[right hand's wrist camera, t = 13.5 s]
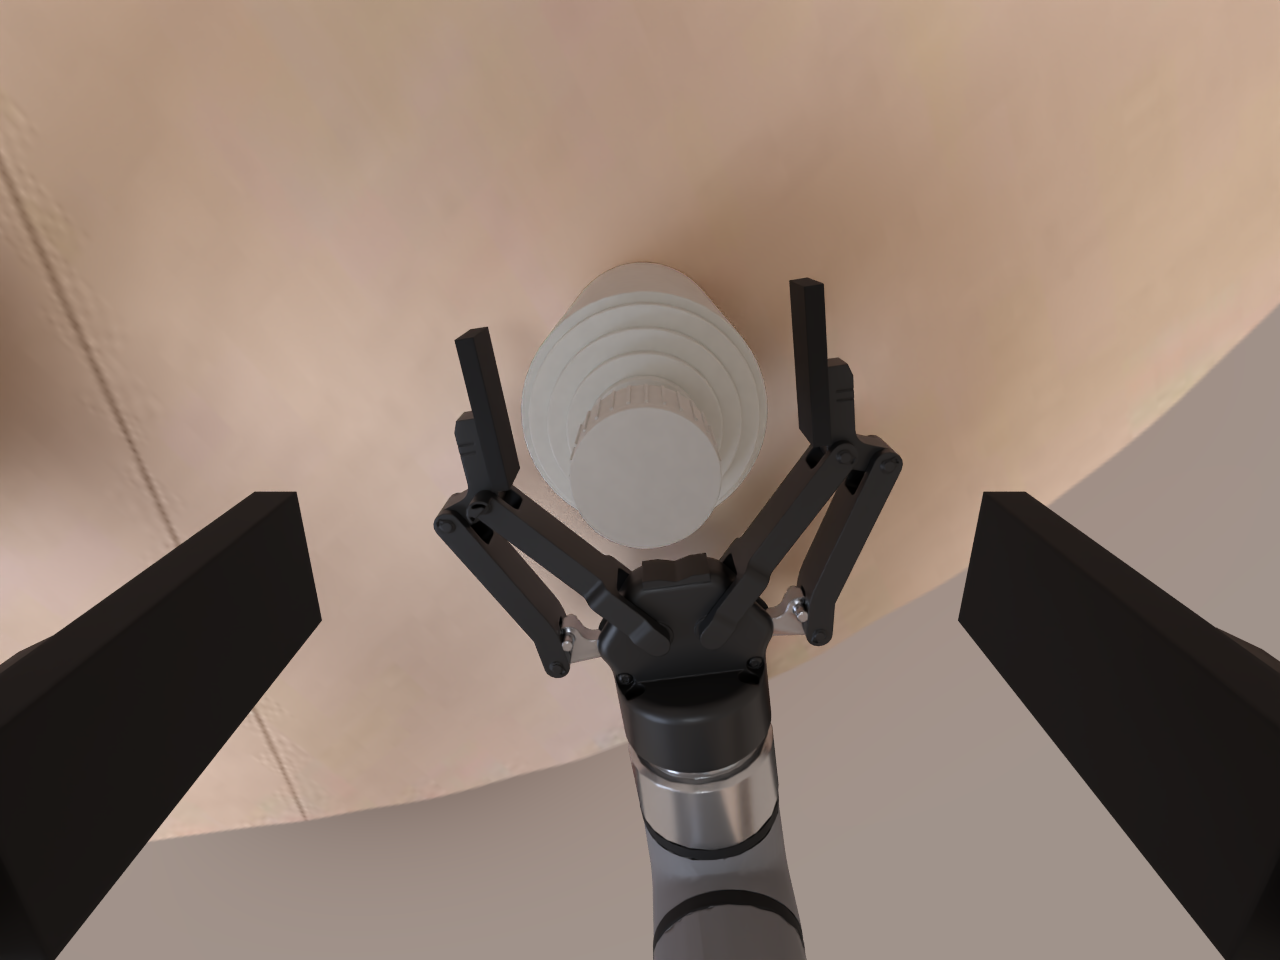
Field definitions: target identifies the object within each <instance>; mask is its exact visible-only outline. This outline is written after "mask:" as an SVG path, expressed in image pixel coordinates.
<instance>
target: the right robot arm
mask: <svg viewBox="0 0 1280 960" xmlns="http://www.w3.org/2000/svg"><path fill="white" fill-rule="evenodd" d="M321 621H322V618H321V613H320V608H319V603H318V598H317V593H316V588H315V583H314V578H313V573H312V568H311V563H310V558H309V553H308V548H307V542H306V537H305V532H304V527H303V522H302V517H301V512H300V507H299V502H298V497H297V492H254V493H252V494H251V495H249V496H248V497H247V498H245V499H244V500H242V501H241V502H240V503H238V504H237V505H235V506H234V507H233V508H231V509H230V510H228V511H227V512H226V513H224V514H223V515H221V516H220V517H219V518H217V519H216V520H214V521H213V522H212V523H210V524H209V525H207V526H206V527H205V528H203V529H202V530H200V531H199V532H198V533H196V534H195V535H193V536H192V537H191V538H189V539H188V540H186V541H185V542H184V543H182V544H181V545H179V546H178V547H177V548H175V549H174V550H172V551H171V552H170V553H168V554H167V555H165V556H164V557H163V558H161V559H160V560H158V561H157V562H156V563H154V564H153V565H151V566H150V567H149V568H147V569H146V570H144V571H143V572H142V573H140V574H139V575H137V576H136V577H135V578H133V579H132V580H130V581H129V582H128V583H126V584H125V585H123V586H122V587H121V588H119V589H118V590H116V591H115V592H114V593H112V594H111V595H109V596H108V597H107V598H105V599H104V600H102V601H101V602H100V603H98V604H97V605H95V606H94V607H93V608H91V609H90V610H88V611H87V612H86V613H84V614H83V615H81V616H80V617H79V618H77V619H76V620H74V621H73V622H72V623H70V624H69V625H67V626H66V627H65V628H63V629H62V630H60V631H59V632H58V633H56V634H55V635H53V636H51V637H49V638H47V639H45V640H43V641H41V642H39V643H36V644H34V645H32V646H30V647H28V648H26V649H24V650H22V651H20V652H18V653H17V654H15V655H14V656H12V657H11V658H9V659H8V660H7V661H5V662H4V663H2V664H1V665H0V960H55V959H56V957H57V956H58V955H59V954H60V952H61V951H62V950H63V949H64V947H65V946H66V945H67V944H68V942H69V941H70V940H71V938H72V937H73V936H74V935H75V933H76V932H77V931H78V930H79V928H80V927H81V926H82V924H83V923H84V922H85V921H86V919H87V918H88V917H89V916H90V914H91V913H92V912H93V910H94V909H95V908H96V907H97V905H98V904H99V903H100V902H101V900H102V899H103V898H104V897H105V895H106V894H107V893H108V891H109V890H110V889H111V888H112V886H113V885H114V884H115V882H116V881H117V880H118V879H119V878H120V876H121V875H122V874H123V872H124V871H125V870H126V869H127V867H128V866H129V865H130V863H131V862H132V861H133V860H134V858H135V857H136V856H137V855H138V853H139V852H140V851H141V850H142V848H143V847H144V846H145V844H146V843H147V842H148V841H149V839H150V838H151V837H152V836H153V834H154V833H155V832H156V831H157V829H158V828H159V827H160V825H161V824H162V823H163V822H164V820H165V819H166V818H167V817H168V815H169V814H170V813H171V811H172V810H173V809H174V808H175V806H176V805H177V804H178V803H179V801H180V800H181V799H182V798H183V796H184V795H185V794H186V792H187V791H188V790H189V789H190V787H191V786H192V785H193V784H194V782H195V781H196V780H197V778H198V777H199V776H200V775H201V773H202V772H203V771H204V770H205V768H206V767H207V766H208V765H209V763H210V762H211V761H212V759H213V758H214V757H215V756H216V754H217V753H218V752H219V751H220V749H221V748H222V747H223V745H224V744H225V743H226V742H227V740H228V739H229V738H230V737H231V735H232V734H233V733H234V731H235V730H236V729H237V728H238V726H239V725H240V724H241V723H242V721H243V720H244V719H245V718H246V716H247V715H248V714H249V712H250V711H251V710H252V709H253V707H254V706H255V705H256V704H257V702H258V701H259V700H260V698H261V697H262V696H263V695H264V693H265V692H266V691H267V690H268V688H269V687H270V686H271V685H272V683H273V682H274V681H275V679H276V678H277V677H278V676H279V674H280V673H281V672H282V671H283V669H284V668H285V667H286V665H287V664H288V663H289V662H290V660H291V659H292V658H293V657H294V655H295V654H296V653H297V651H298V650H299V649H300V648H301V646H302V645H303V644H304V643H305V641H306V640H307V639H308V638H309V636H310V635H311V634H312V632H313V631H314V630H315V629H316V627H317V626H318V625H319V624H320V622H321ZM958 621H959V622H960V624H961V625H962V626H963V627H964V629H965V630H966V631H967V632H968V634H969V635H970V636H971V637H972V639H973V640H974V641H975V643H976V644H977V645H978V646H979V648H980V649H981V650H982V651H983V653H984V654H985V655H986V657H987V658H988V659H989V660H990V662H991V663H992V664H993V665H994V667H995V668H996V669H997V671H998V672H999V673H1000V674H1001V676H1002V677H1003V678H1004V679H1005V681H1006V682H1007V683H1008V685H1009V686H1010V687H1011V688H1012V689H1013V691H1014V692H1015V693H1016V695H1017V696H1018V697H1019V698H1020V700H1021V701H1022V702H1023V704H1024V705H1025V706H1026V707H1027V709H1028V710H1029V711H1030V712H1031V714H1032V715H1033V716H1034V718H1035V719H1036V720H1037V721H1038V723H1039V724H1040V725H1041V726H1042V728H1043V729H1044V730H1045V731H1046V733H1047V734H1048V735H1049V737H1050V738H1051V739H1052V740H1053V742H1054V743H1055V744H1056V745H1057V747H1058V748H1059V749H1060V751H1061V752H1062V753H1063V754H1064V756H1065V757H1066V758H1067V759H1068V761H1069V762H1070V763H1071V765H1072V766H1073V767H1074V768H1075V770H1076V771H1077V772H1078V773H1079V775H1080V776H1081V777H1082V778H1083V780H1084V781H1085V782H1086V783H1087V785H1088V786H1089V787H1090V789H1091V790H1092V791H1093V792H1094V794H1095V795H1096V796H1097V798H1098V799H1099V800H1100V801H1101V803H1102V804H1103V805H1104V806H1105V808H1106V809H1107V810H1108V811H1109V813H1110V814H1111V815H1112V817H1113V818H1114V819H1115V820H1116V822H1117V823H1118V824H1119V825H1120V827H1121V828H1122V829H1123V831H1124V832H1125V833H1126V834H1127V836H1128V837H1129V838H1130V839H1131V841H1132V842H1133V843H1134V844H1135V846H1136V847H1137V848H1138V850H1139V851H1140V852H1141V853H1142V855H1143V856H1144V857H1145V858H1146V860H1147V861H1148V862H1149V863H1150V865H1151V866H1152V867H1153V869H1154V870H1155V871H1156V872H1157V874H1158V875H1159V876H1160V878H1161V879H1162V880H1163V881H1164V883H1165V884H1166V885H1167V886H1168V888H1169V889H1170V890H1171V891H1172V893H1173V894H1174V895H1175V897H1176V898H1177V899H1178V900H1179V902H1180V903H1181V904H1182V905H1183V907H1184V908H1185V909H1186V911H1187V912H1188V913H1189V914H1190V916H1191V917H1192V918H1193V919H1194V921H1195V922H1196V923H1197V924H1198V926H1199V927H1200V928H1201V930H1202V931H1203V932H1204V933H1205V935H1206V936H1207V937H1208V938H1209V940H1210V941H1211V942H1212V944H1213V945H1214V946H1215V947H1216V949H1217V950H1218V951H1219V952H1220V954H1221V955H1222V956H1223V958H1224V959H1225V960H1280V661H1278V660H1277V659H1275V658H1274V657H1272V656H1271V655H1270V654H1268V653H1267V652H1265V651H1264V650H1262V649H1260V648H1258V647H1256V646H1254V645H1252V644H1250V643H1248V642H1246V641H1244V640H1241V639H1239V638H1237V637H1235V636H1233V635H1231V634H1229V633H1227V632H1225V631H1222V630H1220V629H1218V628H1215V627H1214V626H1213V625H1211V624H1210V623H1208V622H1207V621H1206V620H1204V619H1203V618H1201V617H1200V616H1199V615H1197V614H1196V613H1194V612H1193V611H1192V610H1190V609H1189V608H1187V607H1186V606H1185V605H1183V604H1182V603H1180V602H1179V601H1178V600H1176V599H1175V598H1173V597H1172V596H1170V595H1169V594H1168V593H1166V592H1165V591H1164V590H1162V589H1161V588H1159V587H1158V586H1157V585H1155V584H1154V583H1152V582H1151V581H1150V580H1148V579H1147V578H1145V577H1144V576H1143V575H1141V574H1140V573H1138V572H1137V571H1136V570H1134V569H1133V568H1131V567H1130V566H1129V565H1127V564H1126V563H1124V562H1123V561H1122V560H1120V559H1119V558H1117V557H1116V556H1115V555H1113V554H1112V553H1110V552H1109V551H1108V550H1106V549H1105V548H1103V547H1102V546H1101V545H1099V544H1098V543H1096V542H1095V541H1094V540H1092V539H1091V538H1089V537H1088V536H1087V535H1085V534H1084V533H1082V532H1081V531H1080V530H1078V529H1077V528H1075V527H1074V526H1073V525H1071V524H1070V523H1068V522H1067V521H1066V520H1064V519H1063V518H1061V517H1060V516H1059V515H1057V514H1056V513H1054V512H1053V511H1052V510H1050V509H1049V508H1047V507H1046V506H1045V505H1043V504H1042V503H1040V502H1039V501H1038V500H1036V499H1035V498H1033V497H1032V496H1031V495H1029V494H1028V493H1026V492H983V497H982V502H981V507H980V512H979V517H978V522H977V527H976V532H975V537H974V542H973V547H972V553H971V558H970V563H969V568H968V573H967V578H966V583H965V588H964V593H963V598H962V603H961V608H960V613H959V618H958Z"/></svg>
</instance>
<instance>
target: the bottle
mask: <svg viewBox="0 0 1280 960" xmlns="http://www.w3.org/2000/svg"><path fill="white" fill-rule="evenodd" d="M645 383H647V384H648V385H654V386H660V387H661V385H662V386H664V388H667V389H670V390H673V391H675V392H677V391H679V392H680V394H681V395H682V396H684V397H685V398H687V399H688V400H689V401H690V400H692V401H693V402H694V405H695V406H696V407H697V408H698V410H699V411H700V412H703V413H704V415H705V418H706V422H707V424H708V426H709V425H710V426H711V428H712V431H713V434H714V437H715V440H716V443H717V446H718V448H717V449H718V452H719V455H720V458H721V461H722V464H720V465H721V474H722V481H721V490H720V494H719V498H718V500H717V503H716V505H715V507H716V506H718V505H719V504H720V503H722V502H723V501H724V500H725V499H726V498H728V497H729V496H730V495H731V494H732V493H733V492H734V491H735V490H736V489H737V488H738V486H739V485H740V484H741V483H742V482H743V480H744V479H745V477H746V476H747V475H748V473H749V472H750V470H751V468H752V467H753V465H754V463H755V461H756V459H757V457H758V454H759V452H760V449H761V446H762V444H763V440H764V435H765V431H766V424H767V413H768V410H767V395H766V389H765V384H764V380H763V377H762V373H761V370H760V367H759V365H758V363H757V361H756V359H755V357H754V355H753V353H752V351H751V349H750V348H749V346H748V345H747V344H746V342H745V341H744V339H743V338H742V336H741V335H740V334H739V333H738V332H737V330H736V329H735V328H734V327H733V326H732V325H731V323H730V322H729V321H728V320H727V319H726V317H725V316H724V315H723V314H722V313H721V311H720V310H719V309H718V308H717V307H716V305H715V304H714V303H713V302H712V301H711V299H710V298H709V297H708V296H707V295H706V294H705V292H704V291H703V290H702V289H701V288H700V287H699V286H698V285H697V284H696V283H695V282H694V281H693V280H692V279H690V278H689V277H688V276H686V275H685V274H683V273H681V272H680V271H678V270H675V269H673V268H671V267H668V266H665V265H661V264H656V263H650V262H637V263H629V264H625V265H621V266H618V267H615V268H613V269H610V270H608V271H606V272H605V273H603V274H601V275H599V276H598V277H597V278H595V279H594V280H593V281H592V282H590V283H589V285H588V286H587V287H586V288H585V289H584V290H583V291H582V292H581V294H580V295H579V296H578V297H577V299H576V300H575V301H574V303H573V304H572V305H571V307H570V308H569V309H568V310H567V312H566V313H565V314H564V316H563V317H562V318H561V320H560V321H559V322H558V324H557V325H556V326H555V327H554V329H553V330H552V331H551V333H550V334H549V335H548V337H547V338H546V339H545V341H544V342H543V343H542V345H541V346H540V347H539V349H538V351H537V353H536V355H535V357H534V358H533V360H532V362H531V365H530V368H529V370H528V373H527V375H526V379H525V383H524V388H523V392H522V403H521V417H522V427H523V433H524V438H525V441H526V444H527V448H528V451H529V454H530V456H531V458H532V460H533V462H534V464H535V466H536V468H537V469H538V471H539V472H540V474H541V476H542V477H543V479H544V480H545V481H546V482H547V484H548V485H549V486H550V487H551V488H552V490H553V491H554V492H555V493H556V494H557V495H559V496H560V497H561V498H562V499H563V500H564V501H565V502H567V503H568V504H569V505H571V506H572V507H574V508H575V509H576V510H577V507H576V505H575V503H574V500H573V497H572V494H571V489H570V479H569V474H570V467H571V463H569V461H570V457H571V454H572V450H573V447H574V443H575V440H576V436H577V433H578V430H579V426H580V424H582V425H583V422H584V420H585V419H586V415H587V412H588V411H591V410H592V409H593V408H594V406H596V405H597V404H598V400H599V399H601V400H602V399H604V398H605V397H606V396H608V395H610V394H612V391H614V390H615V391H618V390H620V389H623V388H626V387H628V385H631V386H637V385H644V384H645ZM715 507H714V508H715Z"/></svg>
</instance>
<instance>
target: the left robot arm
mask: <svg viewBox="0 0 1280 960" xmlns="http://www.w3.org/2000/svg"><path fill="white" fill-rule="evenodd" d="M789 284H790V298H791V313H792V328H793V343H794V358H795V373H796V388H797V403H798V418H799V429H800V430H801V431H802V433H803V434H804V436H805V437H806V438H807V440H808V441H809V442H810V444H811V445H810V446H809V447H808V449H807V450H806V451H805V453H804V454H803V455H802V457H801V458H800V459H799V461H798V462H797V463H796V465H795V466H794V467H793V469H792V470H791V471H790V473H789V474H788V475H787V477H786V478H785V479H784V481H783V482H782V483H781V485H780V486H779V487H778V489H777V490H776V491H775V493H774V494H773V495H772V497H771V498H770V499H769V501H768V502H767V503H766V505H765V506H764V507H763V509H762V510H761V512H760V513H759V514H758V516H757V517H756V518H755V520H754V521H753V522H752V524H751V525H750V526H749V528H748V529H747V530H746V532H745V533H744V534H743V535H742V537H740V538H737V539H735V540H734V541H733V543H732V544H731V545H730V547H729V548H728V549H727V551H726V552H725V553H724V555H723V556H722V557H721V559H720V560H716V559H714V558H708V557H707V556H706V553H702V554H695V555H689V556H687V557H684V558H681V559H679V560H676V561H669V560H659V559H657V560H649V561H642V566H641V567H639V568H637V569H635V570H634V571H631V570H629V569H628V568H627V567H625V566H624V565H623V564H622V563H620V562H619V561H618V560H616V559H615V558H614V557H612V556H610V555H603V554H602V553H601V552H599V551H598V550H597V549H595V548H594V547H593V546H591V545H590V544H589V543H587V542H586V541H585V540H584V539H582V538H581V537H580V536H578V535H577V534H576V533H574V532H573V531H572V530H571V529H569V528H568V527H567V526H565V525H564V524H563V523H561V522H560V521H559V520H558V519H556V518H555V517H554V516H552V515H551V514H550V513H548V512H547V511H546V510H545V509H543V508H542V507H541V506H539V505H538V504H537V503H535V502H534V501H533V500H531V499H530V498H529V497H528V496H526V495H525V494H524V493H522V492H521V491H520V490H518V489H517V488H516V487H515V486H513V485H512V484H513V482H514V480H515V478H516V475H517V473H518V471H519V469H520V466H519V461H518V457H517V453H516V448H515V444H514V440H513V435H512V431H511V426H510V422H509V418H508V413H507V409H506V404H505V400H504V396H503V391H502V387H501V383H500V378H499V374H498V369H497V365H496V361H495V356H494V352H493V347H492V343H491V339H490V334H489V330H488V327H483V328H476V329H470V330H469V331H467V332H466V333H464V334H463V335H462V336H460V337H459V338H457V339H456V340H455V344H456V348H457V352H458V356H459V360H460V364H461V368H462V372H463V376H464V380H465V384H466V389H467V393H468V397H469V401H470V405H471V409H472V411H469V412H464V413H463V414H462V415H461V416H460V418H459V419H458V420H457V421H456V426H455V437H456V441H457V445H458V449H459V452H460V455H461V460H462V464H463V468H464V472H465V476H466V479H467V483H468V489H467V490H465V491H463V492H462V493H455V494H453V495H452V496H451V497H450V498H449V499H448V501H447V502H446V504H445V505H444V507H443V508H442V510H441V511H440V513H439V514H438V516H437V517H436V519H435V521H434V530H435V531H436V533H437V534H438V535H439V536H440V537H441V539H442V540H443V541H444V542H445V543H446V544H447V545H448V546H449V548H450V549H451V550H452V551H453V552H454V553H455V554H456V555H457V556H458V558H459V559H460V560H461V561H462V562H463V563H464V564H465V565H466V566H467V568H468V569H469V570H470V571H471V572H472V573H473V574H474V575H475V576H476V578H477V579H478V580H479V581H480V582H481V583H482V584H483V585H484V587H485V588H486V589H487V590H488V591H489V592H490V593H491V594H492V595H493V597H494V598H495V599H496V600H497V601H498V602H499V603H500V604H501V605H502V607H503V608H504V609H505V610H506V611H507V612H508V613H509V614H510V616H511V617H512V618H513V619H514V620H515V621H516V622H517V623H518V624H519V626H520V627H521V628H522V629H523V630H524V631H525V632H526V633H527V634H528V636H529V637H530V638H531V639H532V640H533V641H534V643H535V646H536V648H537V651H538V653H539V656H540V658H541V661H542V664H543V666H544V669H545V671H546V673H547V674H548V675H550V676H551V677H554V678H561V677H564V676H566V675H567V674H568V672H569V669H570V664H571V663H575V662H579V661H584V660H588V659H593V658H597V657H602V658H603V659H604V660H605V661H606V662H607V664H608V665H609V666H610V668H611V669H612V671H613V674H614V678H615V683H616V688H617V693H618V698H619V703H620V708H621V713H622V718H623V723H624V728H625V733H626V737H627V739H628V742H629V748H628V749H629V754H630V759H631V764H632V768H633V773H634V777H635V782H636V787H637V792H638V796H639V801H640V808H641V811H642V815H643V819H644V823H645V829H646V835H647V842H648V848H649V854H650V861H651V869H652V881H653V922H654V940H653V960H806V955H805V947H804V942H803V935H802V929H801V924H800V918H799V914H798V910H797V905H796V901H795V897H794V892H793V888H792V883H791V879H790V875H789V870H788V865H787V860H786V854H785V847H784V839H783V832H782V825H781V817H780V810H779V795H778V776H777V767H776V757H775V748H774V739H773V729H772V725H771V707H770V697H769V687H768V676H767V666H766V648H767V645H768V643H769V641H770V639H771V637H772V635H806V638H807V640H808V641H809V643H810V644H812V645H814V646H822V645H825V644H827V643H828V642H829V641H830V640H831V638H832V634H833V622H834V609H835V603H836V601H837V599H838V597H839V595H840V593H841V591H842V589H843V587H844V585H845V583H846V581H847V579H848V577H849V575H850V572H851V570H852V568H853V566H854V564H855V562H856V560H857V558H858V556H859V554H860V552H861V550H862V548H863V546H864V544H865V542H866V540H867V538H868V536H869V534H870V532H871V530H872V528H873V526H874V524H875V522H876V520H877V518H878V516H879V514H880V512H881V510H882V508H883V506H884V504H885V502H886V500H887V498H888V496H889V494H890V492H891V490H892V488H893V486H894V484H895V482H896V480H897V478H898V476H899V474H900V472H901V470H902V466H903V463H902V459H901V457H900V456H899V455H898V454H897V453H896V452H895V451H894V450H893V449H892V448H891V447H889V446H888V445H887V444H886V443H885V442H884V441H883V440H882V439H881V438H879V437H878V436H876V435H869V436H863V435H858V434H856V432H855V413H854V390H853V388H854V385H853V374H852V372H851V370H850V368H849V366H848V364H847V363H845V362H844V361H843V360H841V359H840V358H831V359H827V340H826V319H825V299H824V284H823V283H820V282H818V281H815V280H812V279H810V278H802V279H795V280H789ZM835 491H836V493H835V495H834V497H833V499H832V501H831V503H830V506H829V508H828V510H827V512H826V514H825V516H824V518H823V521H822V523H821V525H820V527H819V529H818V531H817V534H816V536H815V538H814V540H813V542H812V544H811V546H810V549H809V551H808V553H807V555H806V557H805V559H804V561H803V564H802V566H801V569H800V572H799V576H798V581H797V587H796V586H790V587H788V589H787V592H786V593H785V595H784V597H783V600H782V602H781V603H780V604H779V605H777V606H775V607H771V608H768V606H767V604H766V603H765V602H764V601H763V600H762V599H761V598H760V597H759V596H760V595H761V594H762V592H763V591H764V590H765V588H766V587H767V585H768V583H769V579H770V575H771V573H772V571H773V570H774V569H775V568H776V566H777V565H778V564H779V562H780V561H781V560H782V559H783V557H784V556H785V555H786V553H787V552H788V551H789V550H790V548H791V547H792V546H793V545H794V543H795V542H796V541H797V539H798V538H799V537H800V536H801V534H802V533H803V532H804V530H805V529H806V528H807V527H808V525H809V524H810V523H811V521H812V520H813V519H814V518H815V516H816V515H817V514H818V513H819V511H820V510H821V509H822V507H823V506H824V505H825V504H826V502H827V501H828V500H829V498H830V497H831V496H832V495H833V493H834V492H835ZM507 540H508V541H509V542H510V543H512V544H513V545H514V546H516V547H517V548H518V549H520V550H521V551H522V552H524V553H525V554H526V555H528V556H529V557H530V558H532V559H533V560H534V561H536V562H537V563H539V564H540V565H541V566H543V567H544V568H545V569H547V570H548V571H549V572H551V573H552V574H553V575H555V576H556V577H557V578H559V579H560V580H561V581H563V582H564V583H566V584H567V585H568V586H570V587H571V588H572V589H574V590H575V591H576V592H578V593H579V594H580V595H582V596H583V597H584V598H585V599H586V601H587V603H588V605H589V606H590V608H591V609H592V610H593V611H595V612H596V613H597V614H599V615H600V616H601V617H603V619H602V621H601V623H600V625H599V629H596V630H591V629H588V628H586V627H584V626H583V625H582V623H581V622H580V620H578V619H577V616H576V615H574V614H569V615H567V616H566V613H565V611H564V609H563V607H562V605H561V604H560V602H559V601H558V599H557V598H556V597H555V595H554V594H553V593H552V592H551V591H550V589H549V588H548V587H547V586H546V585H545V584H544V583H543V581H542V580H541V579H540V578H539V577H538V576H537V574H536V573H535V572H534V571H533V570H532V569H531V567H530V566H529V565H528V564H527V563H526V562H525V560H524V559H523V558H522V557H521V556H520V555H519V553H518V552H517V551H516V550H515V549H514V548H513V546H512V545H511V544H510V543H509V542H508V541H507Z"/></svg>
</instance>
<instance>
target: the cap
mask: <svg viewBox="0 0 1280 960" xmlns="http://www.w3.org/2000/svg"><path fill="white" fill-rule="evenodd" d="M717 448H718V446H717V443H716V440H715V437H714V434H713V431H712V428H711V426H710V425H709V426H708V424H707V422H706V418H705V415H704V413H703V412H700V411H699V410H698V408H697V407H696V406H695V405H694V402H693V401H692V400H690V401H689V400H688V399H687V398H685V397H684V396H682V395H681V394H680V392H679V391H677V392H675V391H673V390H670V389H667V388H664V386H662V385H661V387H660V386H654V385H648V384H647V383H645V384H644V385H637V386H631V385H628V387H626V388H623V389H620V390H618V391H615V390H614V391H612V394H610V395H608V396H606V397H605V398H604V399H602V400H601V399H599V400H598V404H597V405H596V406H594V408H593V409H592V410H591V411H588V412H587V415H586V419H585V420H584V422H583V425H582V424H580V426H579V430H578V433H577V436H576V440H575V443H574V447H573V450H572V454H571V457H570V461H569V463H571V467H570V474H569V479H570V489H571V494H572V497H573V500H574V503H575V505H576V507H577V510H578V511H579V513H580V514H581V516H582V518H583V519H584V520H585V521H586V522H587V524H588V525H589V526H590V527H591V528H592V529H594V530H595V531H596V532H597V533H599V534H600V535H601V536H603V537H604V538H606V539H608V540H610V541H612V542H614V543H617V544H620V545H623V546H627V547H631V548H639V549H651V548H659V547H664V546H668V545H671V544H674V543H677V542H679V541H681V540H683V539H685V538H686V537H688V536H689V535H691V534H692V533H694V532H695V531H696V530H697V529H698V528H700V527H701V526H702V525H703V523H704V522H705V521H706V520H707V519H708V517H709V516H710V514H711V513H712V511H713V509H714V507H715V505H716V503H717V500H718V498H719V494H720V490H721V481H722V474H721V465H720V464H722V461H721V458H720V455H719V452H718V449H717Z"/></svg>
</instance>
